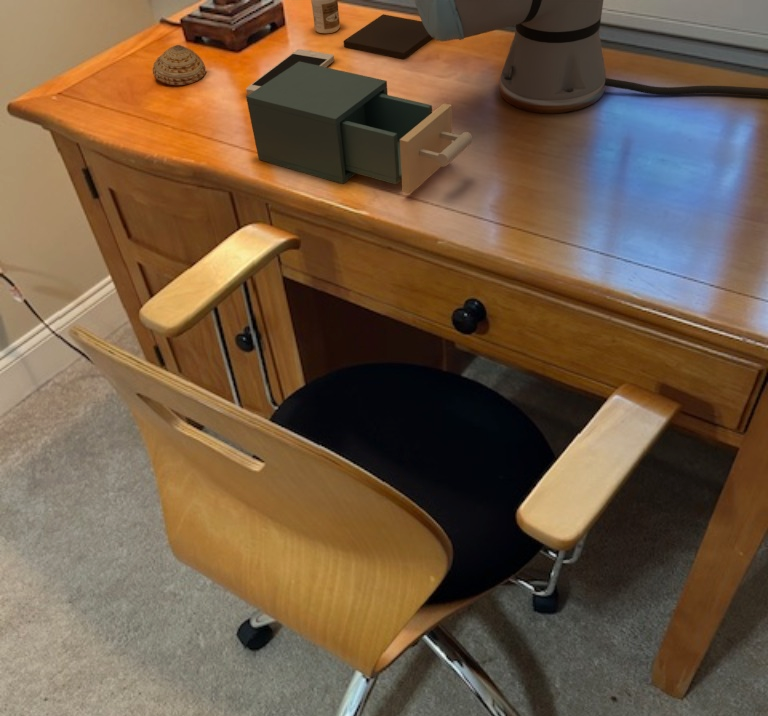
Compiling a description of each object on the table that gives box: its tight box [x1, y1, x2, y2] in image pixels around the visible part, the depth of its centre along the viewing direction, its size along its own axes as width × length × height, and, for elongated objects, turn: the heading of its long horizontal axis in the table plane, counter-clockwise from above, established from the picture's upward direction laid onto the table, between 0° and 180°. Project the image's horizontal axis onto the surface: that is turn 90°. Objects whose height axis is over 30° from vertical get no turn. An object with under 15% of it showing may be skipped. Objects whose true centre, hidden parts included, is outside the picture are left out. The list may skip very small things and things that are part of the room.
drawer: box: [340, 93, 473, 195], centre depth 102 cm, size 18×10×7 cm, turn 56°
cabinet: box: [245, 61, 389, 185], centre depth 107 cm, size 15×12×9 cm
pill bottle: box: [310, 0, 341, 34], centre depth 134 cm, size 4×4×8 cm
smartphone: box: [245, 48, 335, 95], centre depth 126 cm, size 7×16×1 cm, turn 151°
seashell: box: [152, 44, 206, 86], centre depth 129 cm, size 8×6×8 cm
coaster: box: [343, 13, 433, 60], centre depth 132 cm, size 12×12×1 cm
